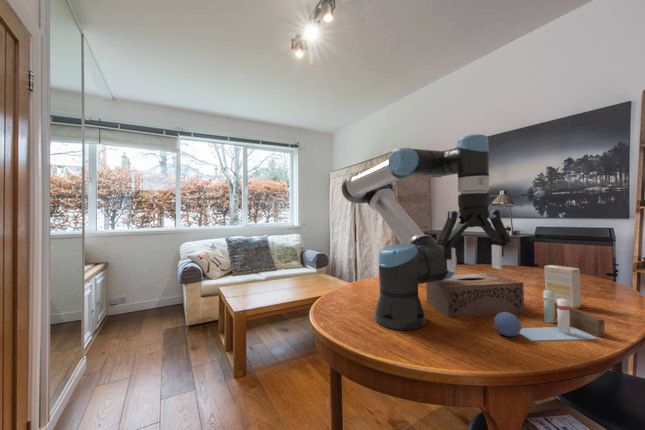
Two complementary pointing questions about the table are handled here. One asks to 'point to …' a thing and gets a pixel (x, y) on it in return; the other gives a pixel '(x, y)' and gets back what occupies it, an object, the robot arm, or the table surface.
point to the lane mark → (553, 334)
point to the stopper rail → (585, 321)
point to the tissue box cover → (476, 295)
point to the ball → (507, 324)
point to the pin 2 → (563, 316)
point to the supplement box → (564, 284)
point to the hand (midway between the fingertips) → (474, 270)
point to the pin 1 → (549, 306)
